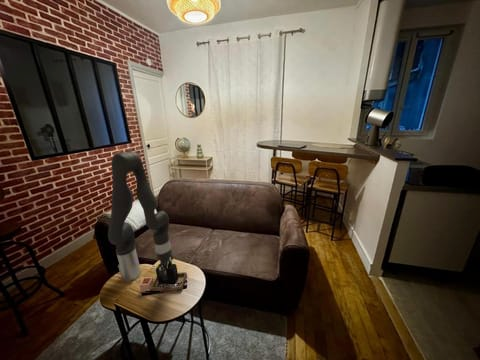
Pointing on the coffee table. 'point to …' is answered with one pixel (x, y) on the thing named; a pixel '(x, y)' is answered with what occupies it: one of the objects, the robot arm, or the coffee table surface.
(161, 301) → the coffee table surface
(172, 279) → the electronic device
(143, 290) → the orange open cube box
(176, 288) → the trough
